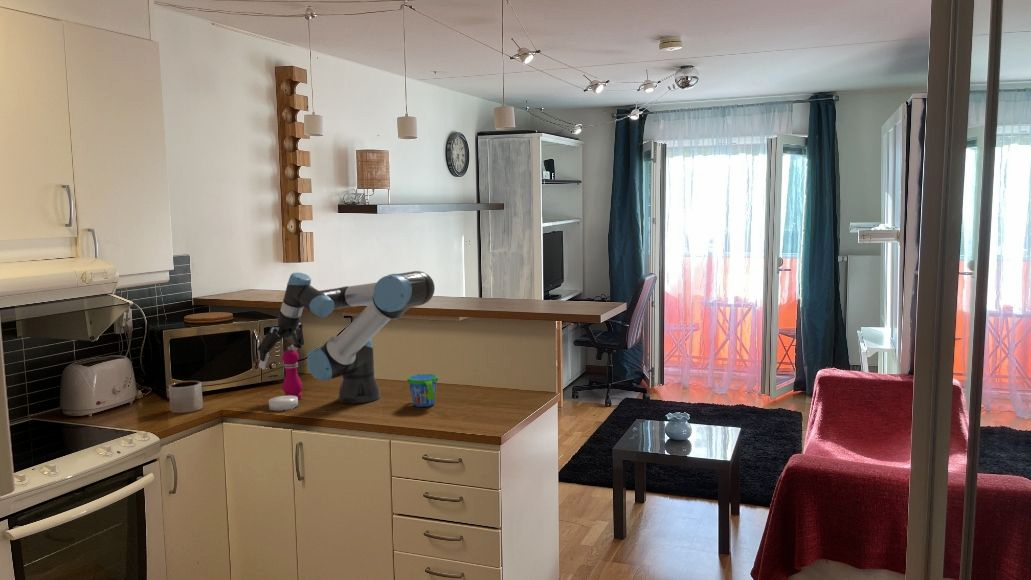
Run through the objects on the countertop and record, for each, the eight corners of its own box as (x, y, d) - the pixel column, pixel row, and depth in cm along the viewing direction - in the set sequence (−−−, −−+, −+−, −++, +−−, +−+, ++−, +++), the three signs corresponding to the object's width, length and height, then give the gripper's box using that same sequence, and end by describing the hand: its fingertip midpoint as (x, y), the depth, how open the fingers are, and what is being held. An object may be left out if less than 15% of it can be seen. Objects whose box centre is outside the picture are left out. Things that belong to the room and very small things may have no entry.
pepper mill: (300, 401, 286) (296, 347, 284) (280, 401, 286) (276, 348, 284) (305, 396, 293) (302, 344, 291) (286, 396, 293) (283, 344, 291)
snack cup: (404, 401, 280) (403, 374, 279) (433, 398, 283) (431, 370, 282) (414, 412, 265) (412, 382, 264) (444, 408, 269) (442, 379, 268)
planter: (163, 412, 276) (161, 386, 275) (187, 405, 286) (184, 379, 285) (187, 415, 272) (184, 388, 271) (210, 407, 282) (207, 381, 281)
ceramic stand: (304, 405, 280) (303, 396, 279) (284, 412, 271) (283, 403, 271) (283, 402, 284) (282, 394, 284) (263, 409, 276) (262, 401, 275)
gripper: (308, 305, 293) (294, 354, 299) (256, 313, 272) (242, 365, 278) (322, 314, 290) (307, 363, 296) (270, 322, 268) (255, 375, 275)
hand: (276, 364), depth 287 cm, fingers open, 13 cm apart
